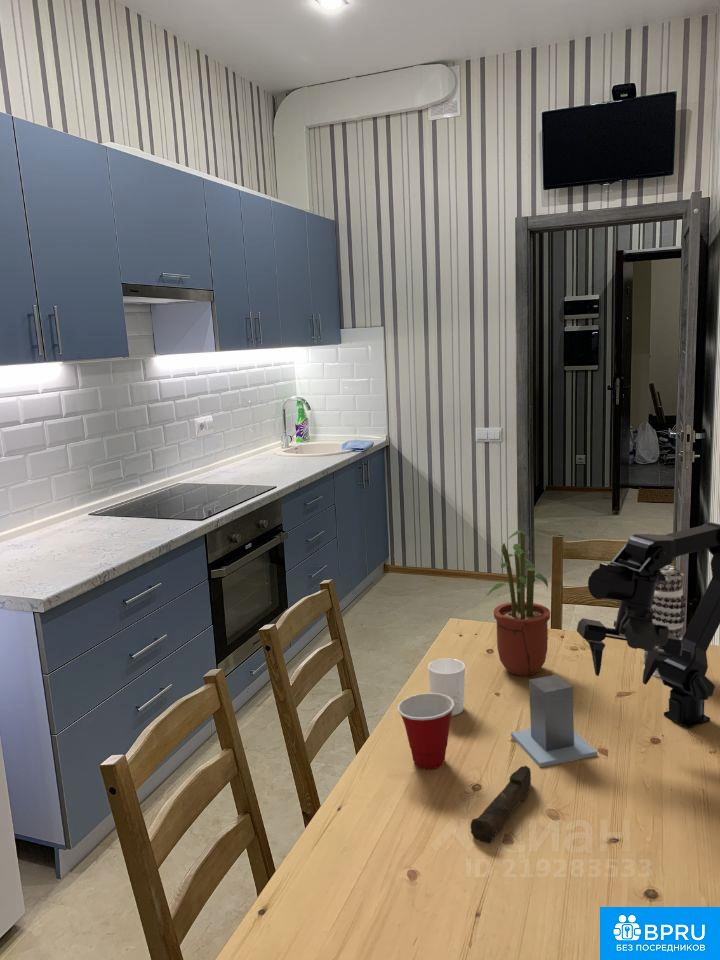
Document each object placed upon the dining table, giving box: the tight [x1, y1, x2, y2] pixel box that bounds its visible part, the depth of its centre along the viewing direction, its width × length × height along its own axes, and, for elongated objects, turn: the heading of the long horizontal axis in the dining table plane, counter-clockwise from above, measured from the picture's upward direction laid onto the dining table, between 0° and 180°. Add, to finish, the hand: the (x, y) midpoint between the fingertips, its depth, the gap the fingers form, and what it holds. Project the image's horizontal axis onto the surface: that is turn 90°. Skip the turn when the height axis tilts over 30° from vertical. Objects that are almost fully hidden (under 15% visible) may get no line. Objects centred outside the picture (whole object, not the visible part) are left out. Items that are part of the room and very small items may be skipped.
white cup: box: [427, 657, 466, 717], centre depth 163 cm, size 8×8×10 cm
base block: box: [510, 728, 598, 768], centre depth 147 cm, size 12×12×4 cm
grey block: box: [528, 674, 575, 751], centre depth 146 cm, size 6×6×12 cm
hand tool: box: [470, 765, 532, 844], centre depth 127 cm, size 19×4×5 cm, turn 141°
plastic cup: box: [397, 692, 454, 771], centre depth 143 cm, size 11×11×12 cm
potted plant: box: [482, 530, 551, 676], centre depth 180 cm, size 17×16×35 cm
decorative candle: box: [643, 564, 686, 678], centre depth 175 cm, size 9×9×25 cm
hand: (620, 679), depth 146 cm, fingers open, 9 cm apart
